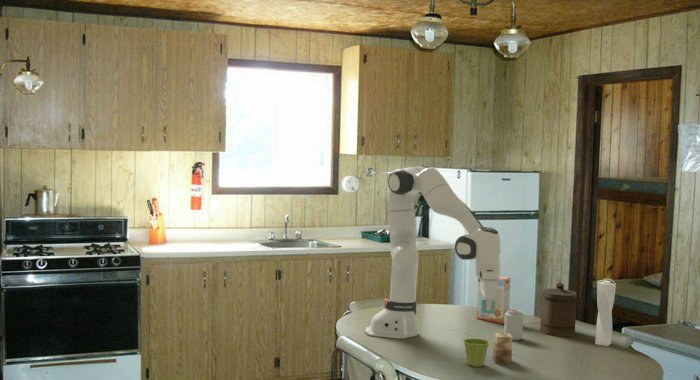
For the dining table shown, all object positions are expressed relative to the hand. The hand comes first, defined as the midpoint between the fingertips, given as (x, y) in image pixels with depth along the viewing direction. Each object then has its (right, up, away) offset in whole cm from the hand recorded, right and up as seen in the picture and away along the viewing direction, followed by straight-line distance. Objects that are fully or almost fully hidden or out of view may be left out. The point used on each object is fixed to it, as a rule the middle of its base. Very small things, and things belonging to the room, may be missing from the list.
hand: (487, 307), depth 275 cm
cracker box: (+15, -17, +67) cm, 71 cm away
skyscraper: (+54, -20, +32) cm, 66 cm away
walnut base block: (+6, -20, +1) cm, 21 cm away
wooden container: (+40, -19, +49) cm, 66 cm away
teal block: (0, -2, 0) cm, 2 cm away
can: (+17, -19, +35) cm, 44 cm away
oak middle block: (+6, -15, +1) cm, 16 cm away
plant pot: (-5, -20, -5) cm, 22 cm away
